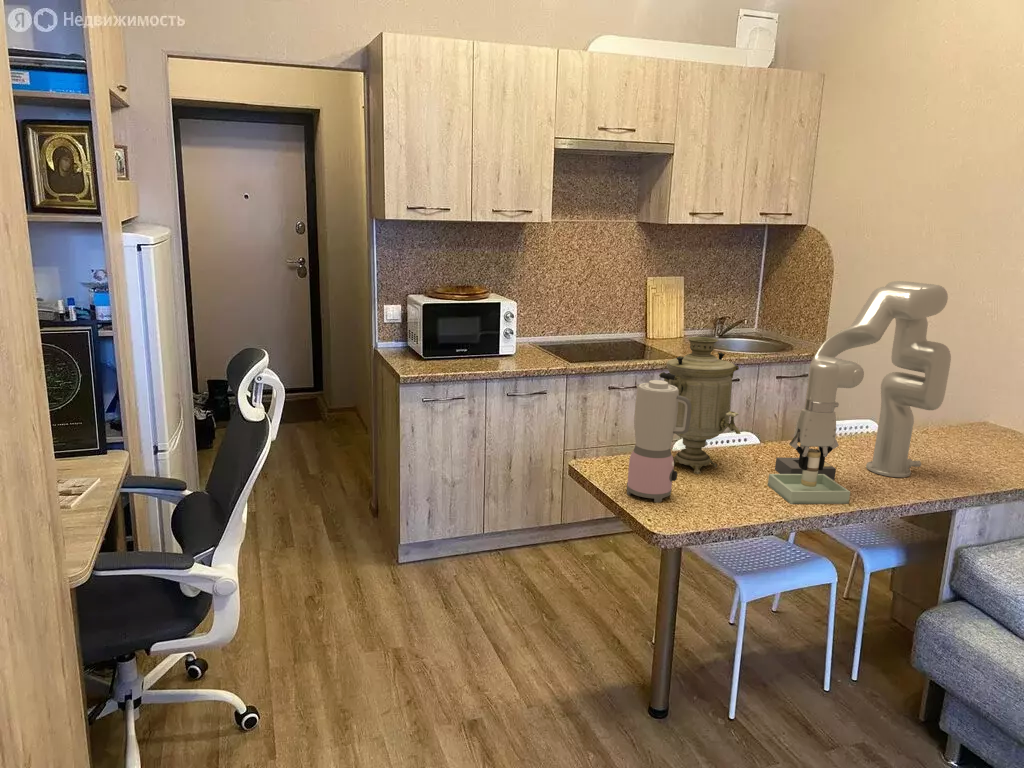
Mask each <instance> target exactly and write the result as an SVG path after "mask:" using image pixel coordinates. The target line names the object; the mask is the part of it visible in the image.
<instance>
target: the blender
mask: <svg viewBox="0 0 1024 768" xmlns="http://www.w3.org/2000/svg"><path fill="white" fill-rule="evenodd" d="M635 386H636V397H635V404H634V419H633V422H634V437H635V445H634V448H633V451H631V454H630V456H629V459H628V460H629V461H628V473H627V482H626V495H628V496H631V495H635V496H637V497H642V498H647V499H653V502H654V503H661V502H663V499H664V498H667V497H669V496H671V495H672V489H673V487H672V486H673V482H675V481H677V478H678V471H677V470H675V469H674V467H675V463H674V460H673V459H674V457H673V454H672V450H671V446H672V442H673V438H674V435H676V434H684V433H687V432H688V430H689V426H690V419H691V402H690V400H689V399H688V398H686V397H683V396H679V395H678V393H679V390H678V388H677V387H675V386H673V385H669V384H668V382H666V381H664V380H660V379H652V380H649V381H648V382H643V383H636V384H635ZM678 402H681V403H683V404H684V405H685V413H684V422H683V427H681V428H679V427H676V421H677V412H678Z"/></svg>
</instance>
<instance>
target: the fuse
mask: <svg viewBox="0 0 1024 768" xmlns="http://www.w3.org/2000/svg"><path fill="white" fill-rule="evenodd" d="M820 455H821V451H820V450H818V448H817V449H816V448H811V447H809V450H808V453H807V457H808V465H807V470H803V472H802V478H801V484H802V485H804V486H808V487H815V486H816V483H817V475H818V469H819V461H820Z"/></svg>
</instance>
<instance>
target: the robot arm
mask: <svg viewBox="0 0 1024 768" xmlns="http://www.w3.org/2000/svg"><path fill="white" fill-rule="evenodd" d="M948 295H949V294H948V292H947V290H946V288H945V287H943V286H942V285H939V284H933V283H923V282H916V281H915V282H914V281H904V280H896V281H891V282H888V283H887V284H886V285H885V286H880V287H878V288H875V289H874V290H873V291H872V293H871V294H870V295H869V296H868V299H867V300H866V301H865V303H864V305H863V307H862V308H861V310H860V311H859V313H858V315H857V316H856V317H855V319H854V320H853V322H852V324H850V326H848V327H846V328H844V329H842V330H840V331H838V332H836V333H835V334H833V335H831V336H830V337H828V338H827V339H826V340H825V341H824V342H822V344H820V346H819V347H818V349H817V351H816V353H815V354H814V355H813V358H812V359H811V361H810V364H809V370H808V371H809V372H808V373H809V374H808V379H807V380H808V381H807V387H806V393H805V394H806V396H805V400H804V401H805V402H804V408H801V410H800V412H799V414H798V417H797V420H796V425H795V427H794V428H795V430H794V434H793V438H792V439H791V441H790V442H789V446H791V447H792V448H793V449H795V450H796V452H797V453H798V454H799V457H798V458H799V467H800V468H801V469H803V470H807V465H808V457H807V453H808V450H809V448H811V447H813V448H814V447H817V450H820V451H821V455H820V461H819V470H823V466H824V462H826V458H827V457H828V456H829V454H830V453H831V452H832V451H833V450H835V449H836V448H838V447H840V446H839V443H838V441H837V438H836V433H837V416H836V415H837V414H836V412H835V409H836V408H839V405H840V404H839V402H838V401H837V402H836V398H837V390H838V389H839V388H840V389H853V388H855V387H857V386H859V385H860V384H861V383H862V381H863V379H864V376H865V371H864V369H863V367H862V365H860V364H859V363H858V362H855V361H851V360H846V359H842V358H838V357H837V356H839V355H840V354H842V353H843V352H845V351H847V350H852V349H855V348H861V347H865V346H869V345H873V344H876V343H878V342H879V341H881V339H882V337H883V335H884V334H885V332H886V330H887V329H888V327H890V326H889V325H890V324H891V323H892V321H893V320H894V319H895V327H894V328H895V329H894V334H893V335H894V336H893V341H892V342H893V343H892V348H891V357H890V358H891V363H892V364H893V365H894V366H895V367H897V368H900V369H904V370H907V371H908V370H909V371H914V372H918V373H923V374H924V376H921V375H917V374H913V373H907V372H903V371H893V372H890V373H888V374H886V375H885V376H883V378H882V379H881V384H880V413H879V419H878V425H877V431H876V437H875V444H874V449H873V456H872V460H871V461H868V462H867V463H866V466H865V468H866V469H867V470H869V472H870V471H871V473H874V474H877V475H881V476H885V477H891V478H906V477H907V478H908V477H910V476H911V474H912V471H911V469H910V468H912V467H913V468H914V467H916V468H921V466H922V462H921V461H920V460H912V459H911V458H908V457H909V451H910V446H911V441H912V440H911V439H912V436H913V435H912V433H913V427H914V424H915V423H914V422H915V417H914V413H913V410H912V409H911V407H912V408H916V409H920V410H925V411H936V410H938V409H939V408H940V407H941V406H942V404H943V402H944V399H945V396H946V390H947V386H948V379H949V374H950V369H951V368H950V367H951V363H952V362H951V361H952V356H951V351H950V349H949V347H948V346H947V345H946V344H944V343H943V342H942V343H941V342H937V341H931V340H928V339H927V334H928V326H929V321H928V319H927V318H930V317H933V316H935V315H938V314H939V313H941V312H942V311H944V309H945V308H946V306H947V304H948V300H949V296H948ZM798 444H800V445H798Z"/></svg>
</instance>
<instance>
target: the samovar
mask: <svg viewBox="0 0 1024 768" xmlns="http://www.w3.org/2000/svg"><path fill="white" fill-rule="evenodd" d="M686 340H688V341H689V342H690V345H689V348H690V350H691V353H688V354H686V355H684V356H681V355H680V356H677V357H675V358H672V359H668V360H667V361H666V367H667V370H668V372H667V373H666V372H664V371H663V372H660V373H659V375H658V376H659V377H660V378H661V379H663V381H666V382H668V384H669V385H673V386H675V387H677V388H678V390H679V393H678V395H679V396H683V397H686V398H688V399H689V400H690V402H691V419H690V426H689V430H688V432H687V433H684V434H675V435H676V436H678V437H680V438H682V445H683V446H685V448H683V449H681V450H680V451H677V452H676V454H675V456H674V457H673V460H674V464H676V463H679V464H680V465H681V464H683V465H685V466H690V467H691V468H692V469H693V470H694V471H693V473H694V474H696V475H700V474H701V473H702V472H701V468H702V467H703V466H705V467H707V466H708V465H711V466H714V467H715V468H717V467H718V464H717V462H714V461H713V460H712V459H711V456H710V455H709V454H708V453H707V452H705V451H704V450H703V448H706V445H707V440H712V439H714V438H717V437H718V436H719V435H720V434H723V433H724V432H725V430H726V429H728V428H729V430H730V431H732V432H735V434H736V435H740V434H741V431H740V429H739V427H737V426H736V424H735V420H734V419H735V418H736V417H737V416H739V415H740V414H739V412H736V411H731V402H732V401H731V400H732V387H733V378H734V373H735V372H736V371H739V370H740V367H739V365H735V363H732V362H730V361H728V360H724V359H723V357H724V356H725V353H723V352H721V351H720V352H717V354H718V357H717V356H715V355H714V354H712V352H713V351H714V346H715V344H716V343H717V342H718V341H719V340H718V339H717V338H713V337H703V336H692V337H691V336H689V337H687V339H686ZM684 413H685V405H684V404H683V403H681V402H678V412H677V421H676V427H679V428H681V427H683V422H684Z"/></svg>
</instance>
